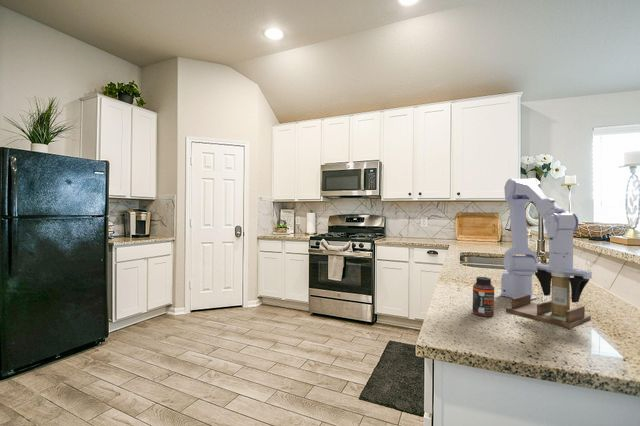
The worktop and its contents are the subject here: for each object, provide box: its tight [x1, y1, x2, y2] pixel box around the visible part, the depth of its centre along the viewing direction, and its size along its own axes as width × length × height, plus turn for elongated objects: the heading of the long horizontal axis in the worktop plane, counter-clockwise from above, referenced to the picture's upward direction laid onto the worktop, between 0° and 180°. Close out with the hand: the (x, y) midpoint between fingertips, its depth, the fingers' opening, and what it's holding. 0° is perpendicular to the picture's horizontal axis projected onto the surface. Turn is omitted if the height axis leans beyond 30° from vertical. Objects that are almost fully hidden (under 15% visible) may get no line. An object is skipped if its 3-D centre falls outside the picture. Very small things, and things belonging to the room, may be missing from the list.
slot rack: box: [505, 294, 592, 329], centre depth 96 cm, size 17×14×4 cm
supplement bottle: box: [472, 276, 495, 318], centre depth 96 cm, size 6×6×11 cm
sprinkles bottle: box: [551, 270, 571, 316], centre depth 93 cm, size 5×5×14 cm
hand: (560, 298), depth 92 cm, fingers open, 7 cm apart
